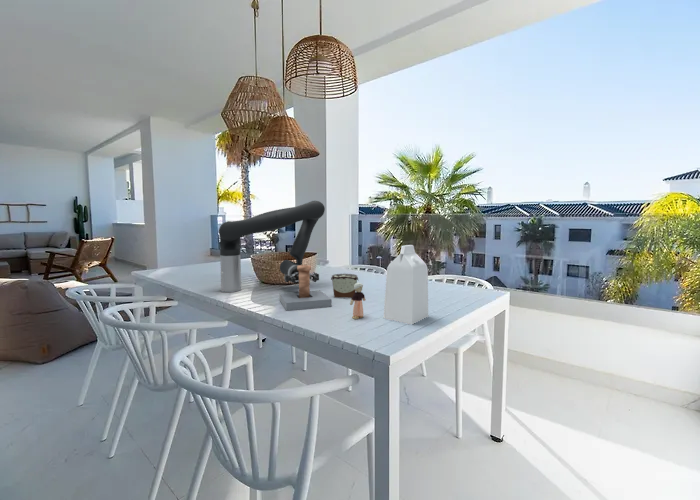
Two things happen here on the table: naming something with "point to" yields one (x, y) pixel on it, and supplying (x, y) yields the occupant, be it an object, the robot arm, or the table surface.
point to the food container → (344, 285)
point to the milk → (406, 288)
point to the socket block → (304, 300)
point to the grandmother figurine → (358, 301)
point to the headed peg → (304, 280)
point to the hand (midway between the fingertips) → (305, 280)
